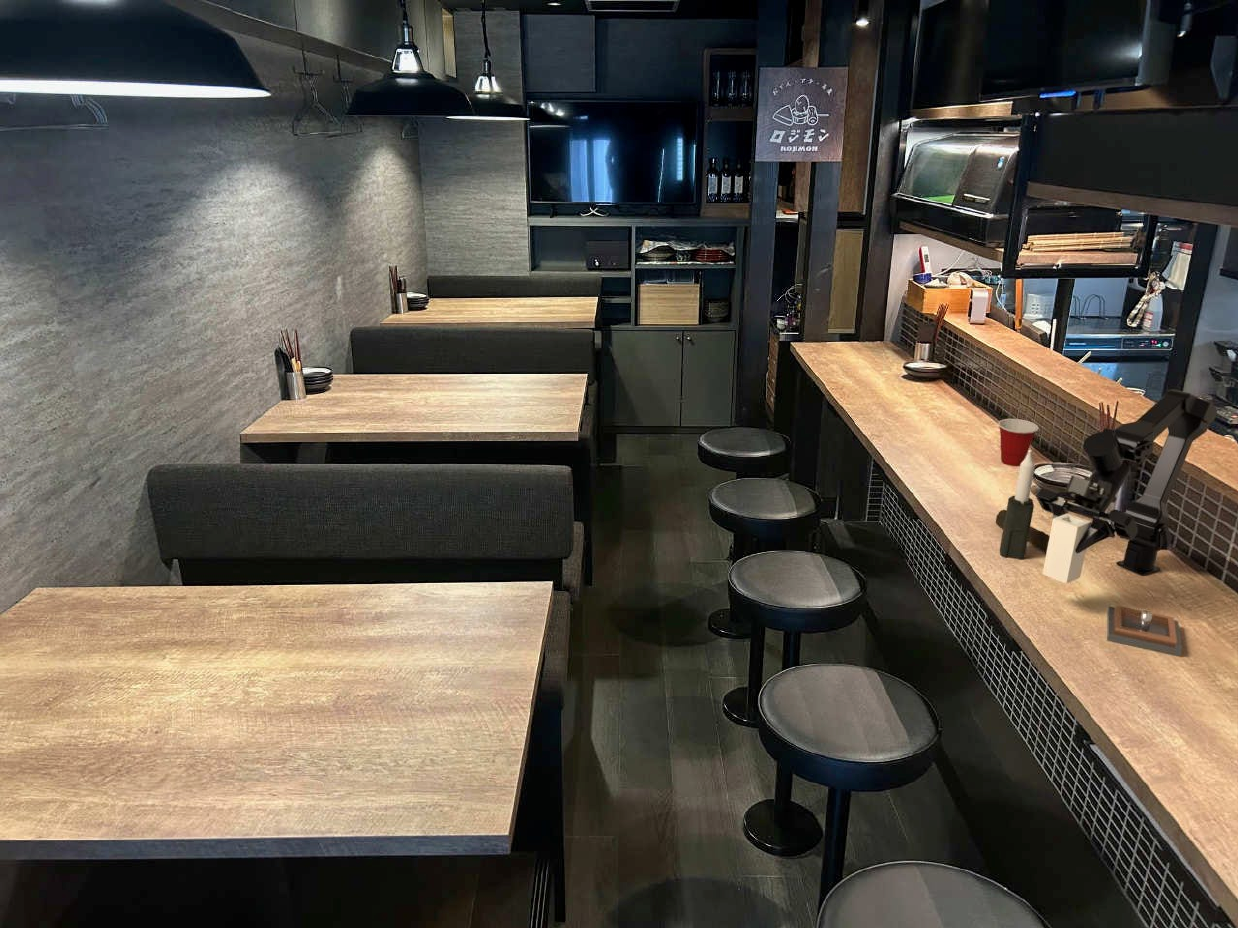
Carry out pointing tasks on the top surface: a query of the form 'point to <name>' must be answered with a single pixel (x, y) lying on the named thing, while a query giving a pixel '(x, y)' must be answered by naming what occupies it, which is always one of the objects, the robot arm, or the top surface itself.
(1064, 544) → the sleeve
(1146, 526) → the robot arm
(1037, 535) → the hand tool
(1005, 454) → the plastic cup
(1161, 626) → the seat plate
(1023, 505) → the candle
